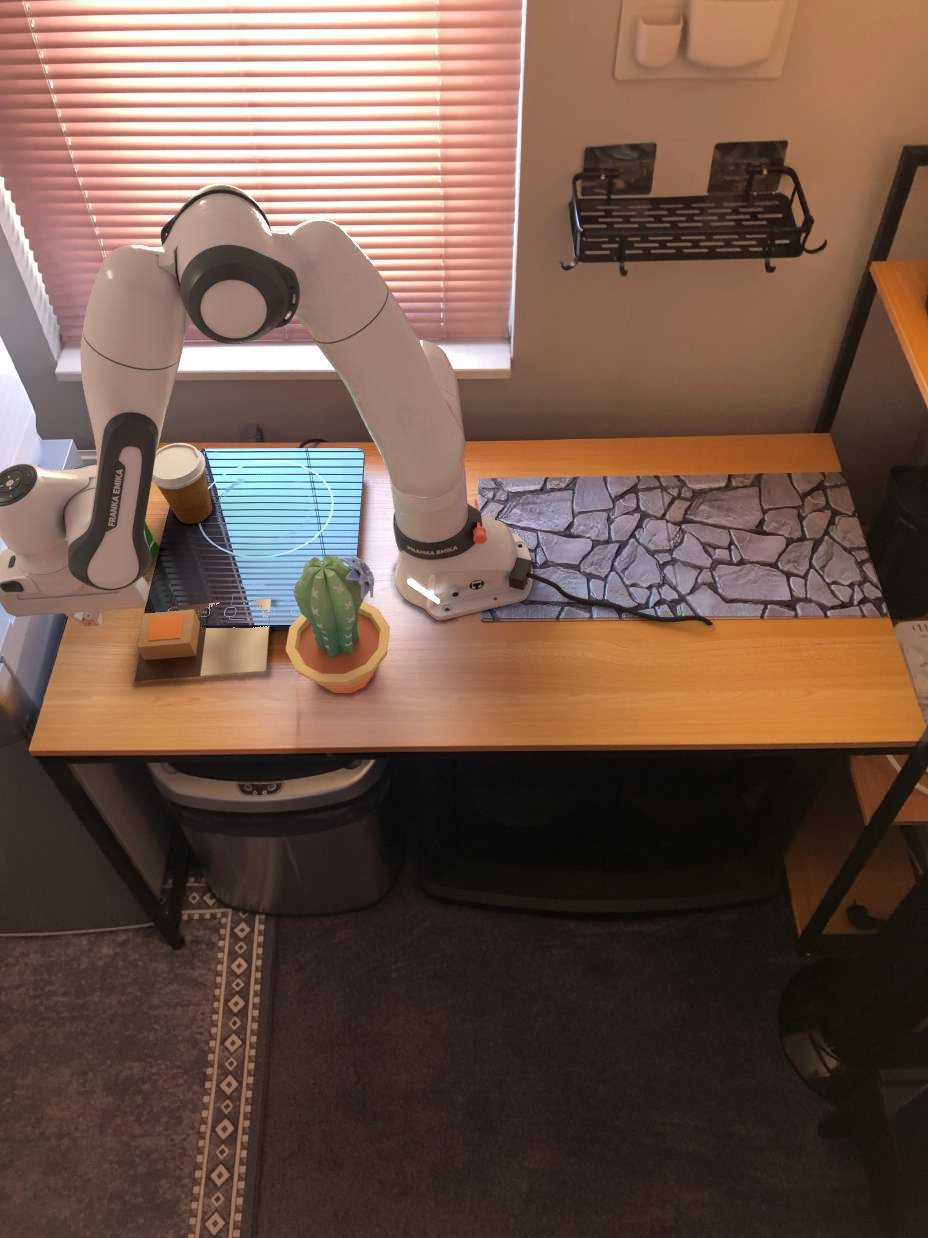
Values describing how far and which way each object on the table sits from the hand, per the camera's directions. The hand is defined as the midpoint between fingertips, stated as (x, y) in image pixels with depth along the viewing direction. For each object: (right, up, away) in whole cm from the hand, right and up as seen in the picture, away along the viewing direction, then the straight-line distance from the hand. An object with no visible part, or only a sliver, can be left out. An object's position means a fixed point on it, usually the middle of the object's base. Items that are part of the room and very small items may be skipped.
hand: (92, 622), depth 143 cm
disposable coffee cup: (+9, +19, +23) cm, 32 cm away
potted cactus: (+38, -7, +2) cm, 39 cm away
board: (+16, -3, +6) cm, 17 cm away
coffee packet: (+11, -3, +5) cm, 12 cm away
